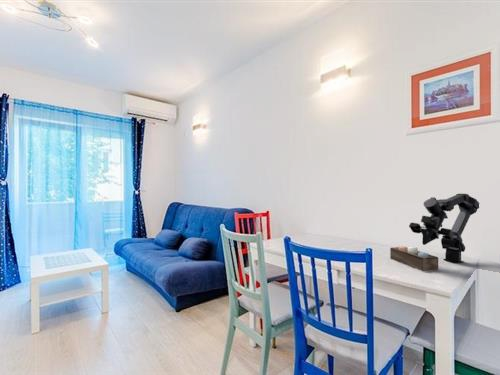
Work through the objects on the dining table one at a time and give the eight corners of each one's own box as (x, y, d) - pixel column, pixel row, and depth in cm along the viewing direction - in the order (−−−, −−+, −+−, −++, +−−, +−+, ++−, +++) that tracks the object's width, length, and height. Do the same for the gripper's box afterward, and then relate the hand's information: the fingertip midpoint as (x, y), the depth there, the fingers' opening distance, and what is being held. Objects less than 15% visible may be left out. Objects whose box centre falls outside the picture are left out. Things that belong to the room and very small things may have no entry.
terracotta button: (403, 254, 146) (403, 246, 146) (409, 256, 142) (409, 247, 142) (396, 255, 146) (396, 246, 146) (402, 257, 141) (402, 248, 141)
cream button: (413, 255, 139) (413, 246, 139) (419, 257, 135) (419, 248, 135) (405, 255, 139) (405, 246, 139) (412, 258, 134) (411, 248, 134)
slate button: (423, 261, 132) (423, 252, 132) (431, 264, 128) (431, 254, 128) (415, 262, 132) (415, 252, 132) (423, 264, 127) (422, 254, 127)
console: (404, 257, 148) (404, 247, 148) (438, 269, 127) (438, 257, 127) (390, 258, 147) (390, 247, 147) (421, 270, 125) (421, 258, 125)
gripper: (411, 207, 140) (398, 230, 135) (452, 212, 123) (439, 239, 119) (419, 220, 144) (406, 243, 140) (459, 227, 128) (447, 253, 124)
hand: (423, 244), depth 130 cm, fingers closed
